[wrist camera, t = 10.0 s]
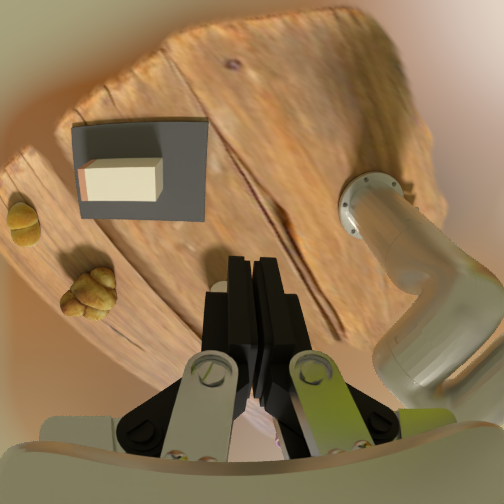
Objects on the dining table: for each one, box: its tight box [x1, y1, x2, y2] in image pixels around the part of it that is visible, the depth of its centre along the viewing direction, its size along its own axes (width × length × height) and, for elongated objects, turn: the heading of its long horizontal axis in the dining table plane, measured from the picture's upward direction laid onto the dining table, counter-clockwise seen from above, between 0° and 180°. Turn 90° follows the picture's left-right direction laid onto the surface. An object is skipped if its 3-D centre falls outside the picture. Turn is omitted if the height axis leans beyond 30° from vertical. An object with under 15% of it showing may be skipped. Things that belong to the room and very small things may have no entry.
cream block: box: [78, 158, 163, 201], centre depth 40 cm, size 5×5×12 cm
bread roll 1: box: [7, 202, 41, 247], centre depth 43 cm, size 8×9×4 cm
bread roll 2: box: [60, 267, 117, 321], centre depth 50 cm, size 13×10×8 cm
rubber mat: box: [71, 121, 208, 222], centre depth 42 cm, size 22×16×1 cm
